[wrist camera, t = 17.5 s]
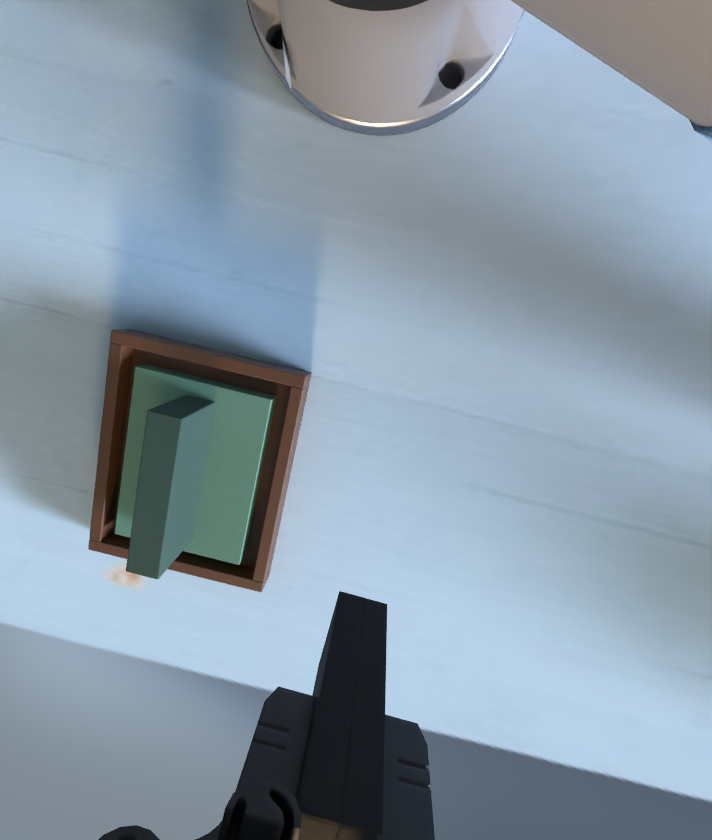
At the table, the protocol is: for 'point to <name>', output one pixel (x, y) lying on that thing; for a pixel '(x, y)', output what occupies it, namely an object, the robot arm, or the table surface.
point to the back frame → (282, 441)
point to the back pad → (222, 460)
